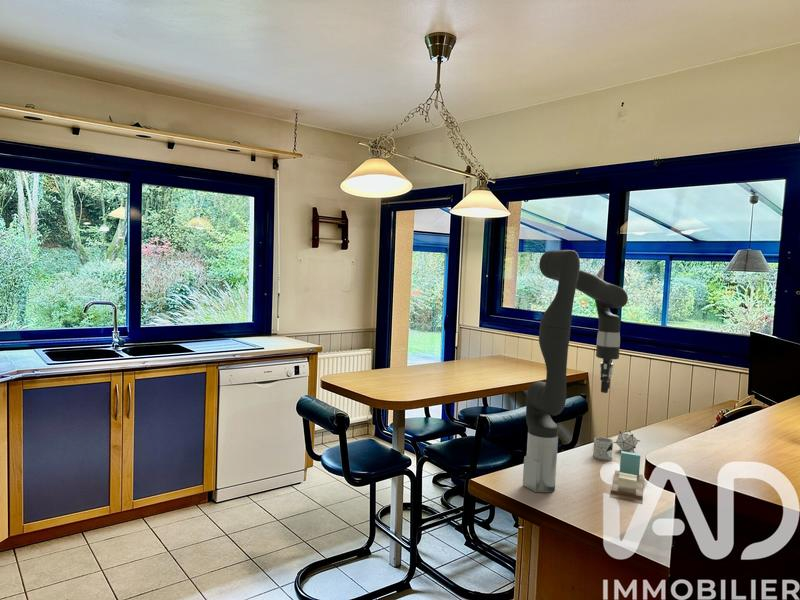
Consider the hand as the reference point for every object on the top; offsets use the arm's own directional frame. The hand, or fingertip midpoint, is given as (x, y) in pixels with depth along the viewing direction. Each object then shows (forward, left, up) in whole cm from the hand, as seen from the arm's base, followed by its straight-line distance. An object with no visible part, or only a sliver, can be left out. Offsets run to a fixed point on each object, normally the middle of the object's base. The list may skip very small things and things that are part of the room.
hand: (605, 390), depth 182 cm
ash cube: (-11, -20, -27) cm, 35 cm away
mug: (+13, +10, -28) cm, 33 cm away
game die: (+26, +10, -28) cm, 40 cm away
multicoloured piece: (-6, -16, -28) cm, 33 cm away
